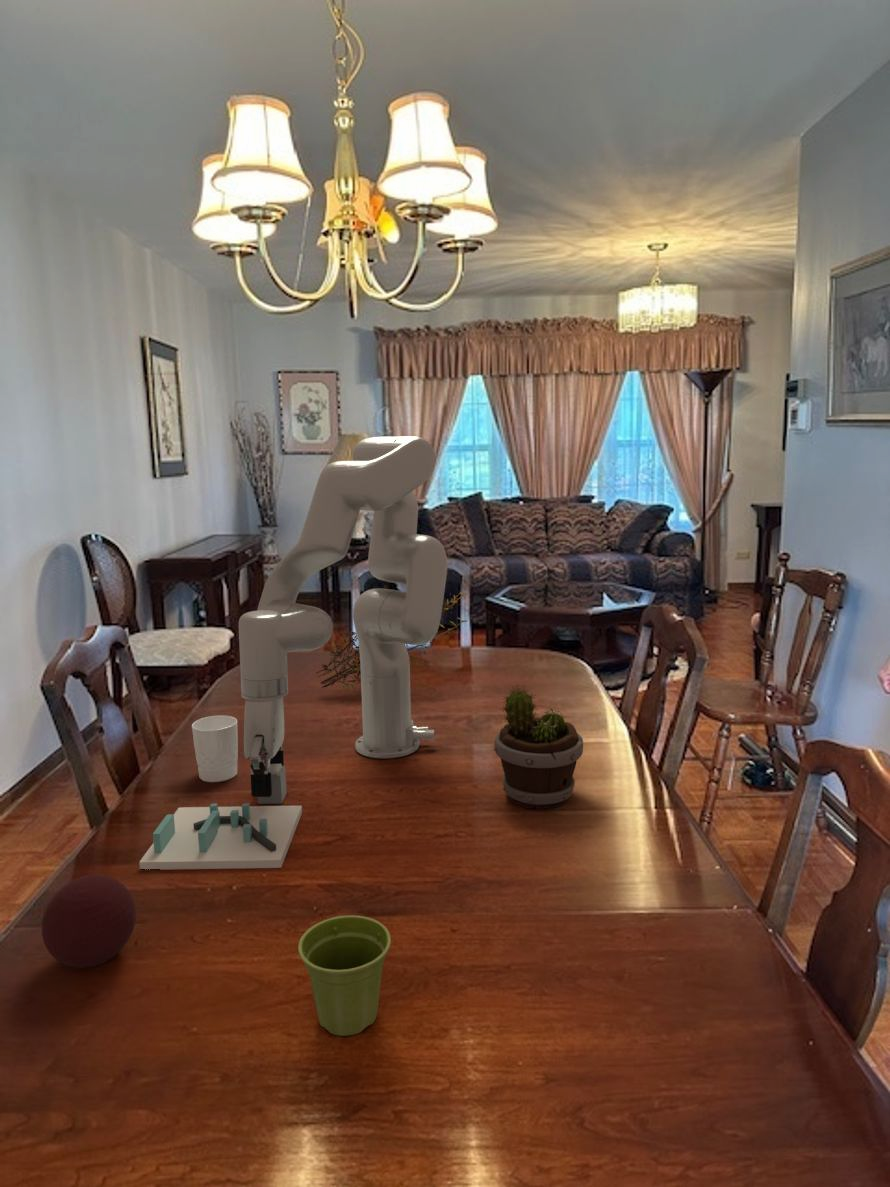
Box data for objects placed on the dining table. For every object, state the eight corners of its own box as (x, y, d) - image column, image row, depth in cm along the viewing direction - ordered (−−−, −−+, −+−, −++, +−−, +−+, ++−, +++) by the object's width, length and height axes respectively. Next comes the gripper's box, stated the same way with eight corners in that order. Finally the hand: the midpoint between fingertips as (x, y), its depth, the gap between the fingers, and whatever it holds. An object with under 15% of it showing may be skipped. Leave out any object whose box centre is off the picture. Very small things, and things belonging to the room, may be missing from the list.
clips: (275, 816, 124) (274, 802, 124) (264, 842, 116) (263, 827, 116) (212, 817, 124) (211, 803, 124) (196, 843, 116) (195, 828, 116)
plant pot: (306, 988, 87) (302, 917, 85) (392, 982, 87) (389, 911, 86) (298, 1053, 77) (293, 974, 76) (394, 1045, 78) (391, 967, 76)
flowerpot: (592, 785, 136) (594, 674, 132) (567, 824, 123) (569, 702, 119) (513, 772, 142) (513, 665, 138) (481, 808, 129) (480, 690, 125)
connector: (286, 793, 135) (284, 762, 134) (282, 803, 131) (280, 772, 130) (263, 793, 135) (261, 762, 134) (258, 803, 131) (256, 772, 130)
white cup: (228, 785, 139) (224, 731, 137) (187, 782, 140) (183, 729, 138) (248, 767, 146) (244, 716, 144) (209, 764, 148) (205, 714, 146)
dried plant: (289, 640, 169) (474, 547, 172) (295, 621, 199) (452, 542, 203) (353, 761, 173) (532, 668, 177) (349, 724, 204) (502, 645, 208)
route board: (302, 812, 128) (301, 805, 128) (281, 867, 111) (280, 859, 111) (179, 814, 128) (178, 807, 128) (140, 870, 111) (139, 862, 111)
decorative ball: (147, 966, 91) (140, 887, 89) (51, 999, 85) (41, 916, 84) (130, 923, 99) (123, 850, 97) (42, 950, 94) (32, 874, 92)
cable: (296, 835, 118) (296, 830, 118) (272, 852, 113) (272, 846, 113) (217, 814, 125) (217, 809, 125) (192, 829, 120) (191, 824, 120)
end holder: (218, 832, 119) (216, 813, 119) (206, 852, 114) (204, 833, 113) (168, 832, 119) (167, 814, 119) (154, 853, 114) (152, 833, 113)
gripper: (254, 671, 138) (258, 764, 141) (227, 701, 121) (232, 806, 124) (297, 672, 138) (299, 764, 141) (276, 701, 121) (280, 806, 124)
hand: (268, 783), depth 132 cm, fingers open, 9 cm apart
